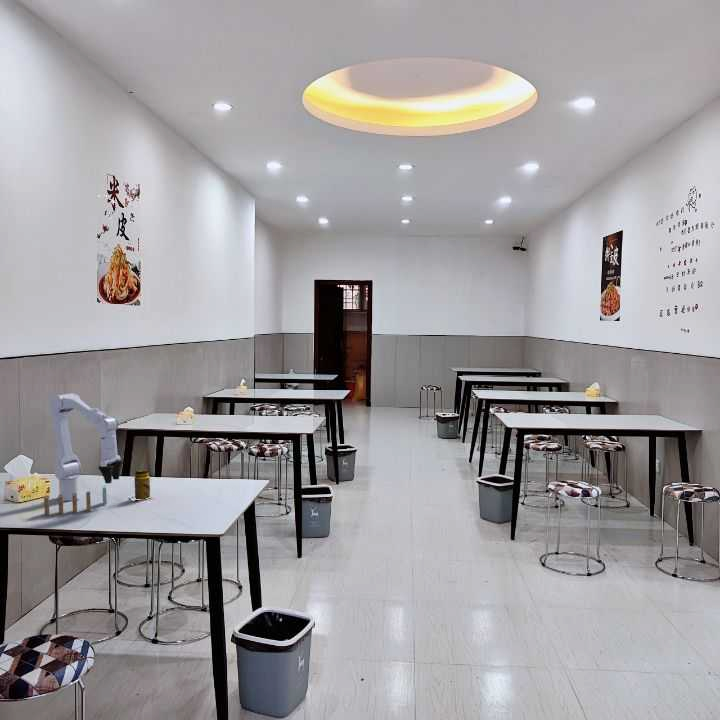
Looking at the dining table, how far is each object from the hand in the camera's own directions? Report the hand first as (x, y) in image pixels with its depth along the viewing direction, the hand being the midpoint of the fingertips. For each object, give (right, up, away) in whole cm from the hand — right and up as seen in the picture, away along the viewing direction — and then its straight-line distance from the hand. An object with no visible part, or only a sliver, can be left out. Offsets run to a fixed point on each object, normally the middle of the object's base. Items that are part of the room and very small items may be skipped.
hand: (112, 481), depth 284 cm
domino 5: (-4, -10, +4) cm, 11 cm away
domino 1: (-21, -11, -11) cm, 26 cm away
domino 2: (-17, -11, -9) cm, 22 cm away
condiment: (+8, -9, +12) cm, 17 cm away
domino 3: (-12, -11, -7) cm, 18 cm away
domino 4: (-7, -11, -6) cm, 14 cm away
